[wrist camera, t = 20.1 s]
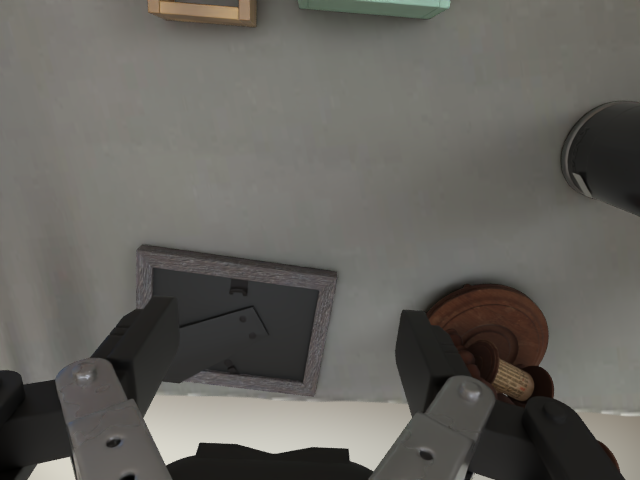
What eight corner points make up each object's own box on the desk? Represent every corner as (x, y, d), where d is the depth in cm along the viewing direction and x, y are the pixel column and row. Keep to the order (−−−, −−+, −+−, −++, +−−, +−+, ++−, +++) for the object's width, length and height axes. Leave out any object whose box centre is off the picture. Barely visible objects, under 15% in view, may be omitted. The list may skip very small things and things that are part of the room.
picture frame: (141, 367, 49) (314, 387, 50) (134, 378, 47) (314, 399, 49) (142, 244, 43) (336, 271, 45) (134, 251, 42) (337, 279, 43)
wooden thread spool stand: (387, 354, 49) (432, 521, 30) (460, 255, 44) (567, 380, 26) (484, 401, 52) (582, 581, 33) (563, 312, 47) (727, 462, 28)
